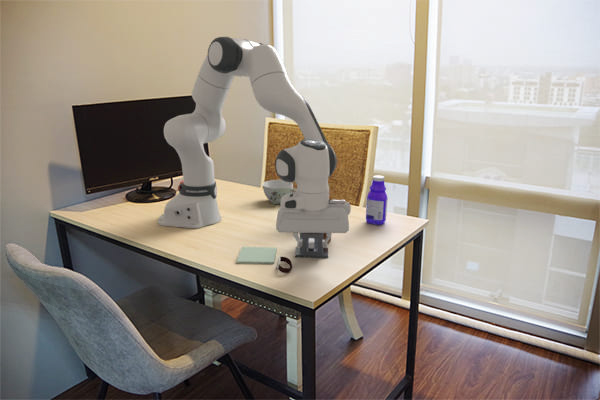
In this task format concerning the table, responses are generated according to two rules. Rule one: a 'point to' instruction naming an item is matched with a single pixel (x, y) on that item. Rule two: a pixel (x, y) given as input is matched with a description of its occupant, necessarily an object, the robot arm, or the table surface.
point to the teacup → (277, 190)
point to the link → (312, 251)
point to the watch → (286, 260)
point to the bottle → (377, 201)
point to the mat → (257, 255)
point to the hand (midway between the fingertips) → (312, 246)
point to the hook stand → (311, 244)
